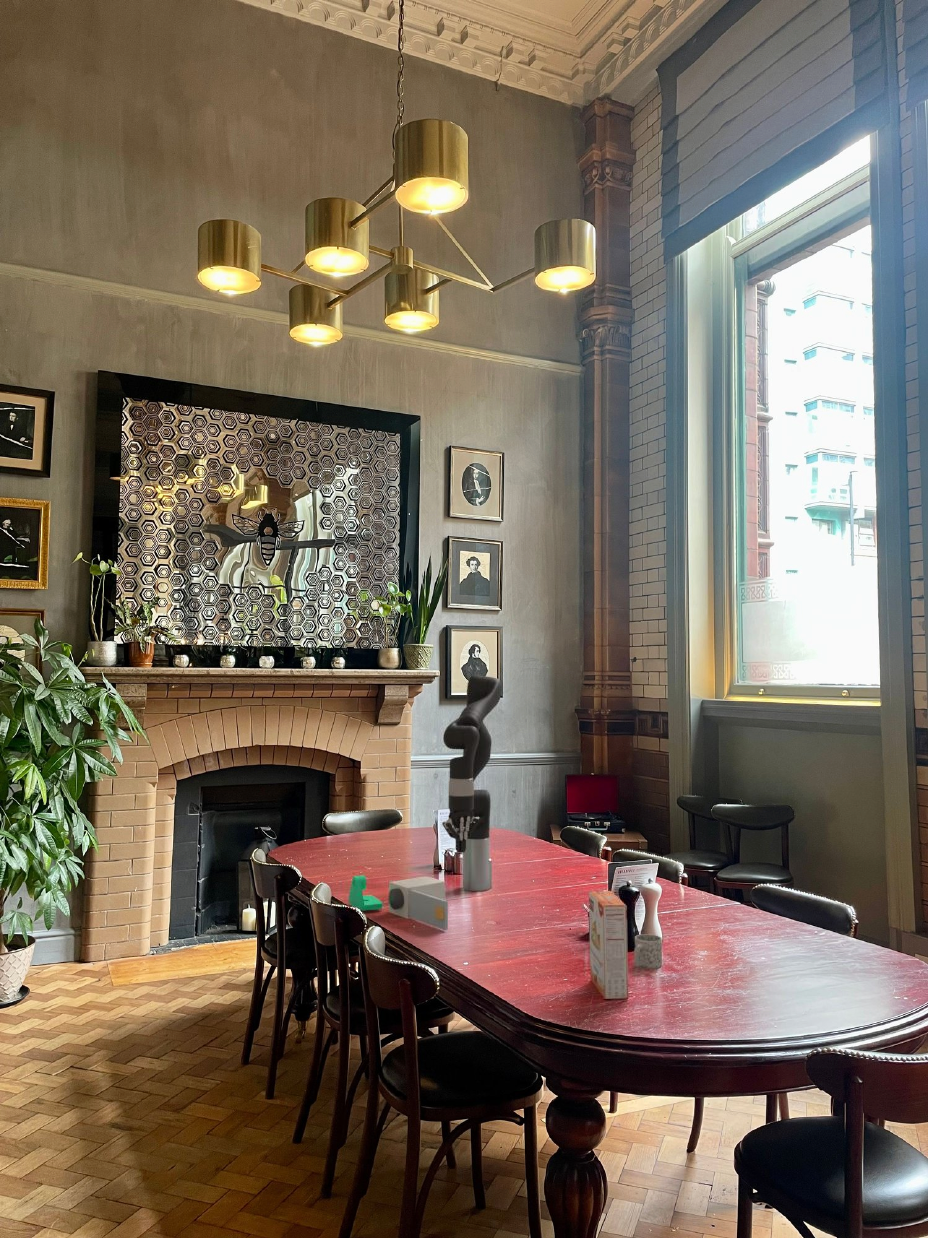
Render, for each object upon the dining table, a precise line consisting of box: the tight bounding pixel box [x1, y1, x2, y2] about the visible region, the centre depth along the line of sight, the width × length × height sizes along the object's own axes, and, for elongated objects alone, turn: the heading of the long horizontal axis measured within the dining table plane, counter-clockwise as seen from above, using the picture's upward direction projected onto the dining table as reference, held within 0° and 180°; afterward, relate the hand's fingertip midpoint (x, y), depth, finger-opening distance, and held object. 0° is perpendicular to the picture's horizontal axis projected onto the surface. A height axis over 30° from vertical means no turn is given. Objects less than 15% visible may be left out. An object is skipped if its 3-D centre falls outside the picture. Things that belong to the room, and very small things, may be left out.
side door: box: [409, 890, 449, 931], centre depth 267 cm, size 18×2×8 cm, turn 38°
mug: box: [633, 933, 663, 970], centre depth 229 cm, size 10×7×7 cm, turn 141°
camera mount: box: [348, 874, 384, 912], centre depth 287 cm, size 12×8×10 cm, turn 23°
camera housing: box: [388, 875, 446, 920], centre depth 282 cm, size 16×10×9 cm, turn 129°
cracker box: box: [588, 890, 629, 1000], centre depth 212 cm, size 14×6×21 cm, turn 5°
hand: (460, 852), depth 272 cm, fingers closed
